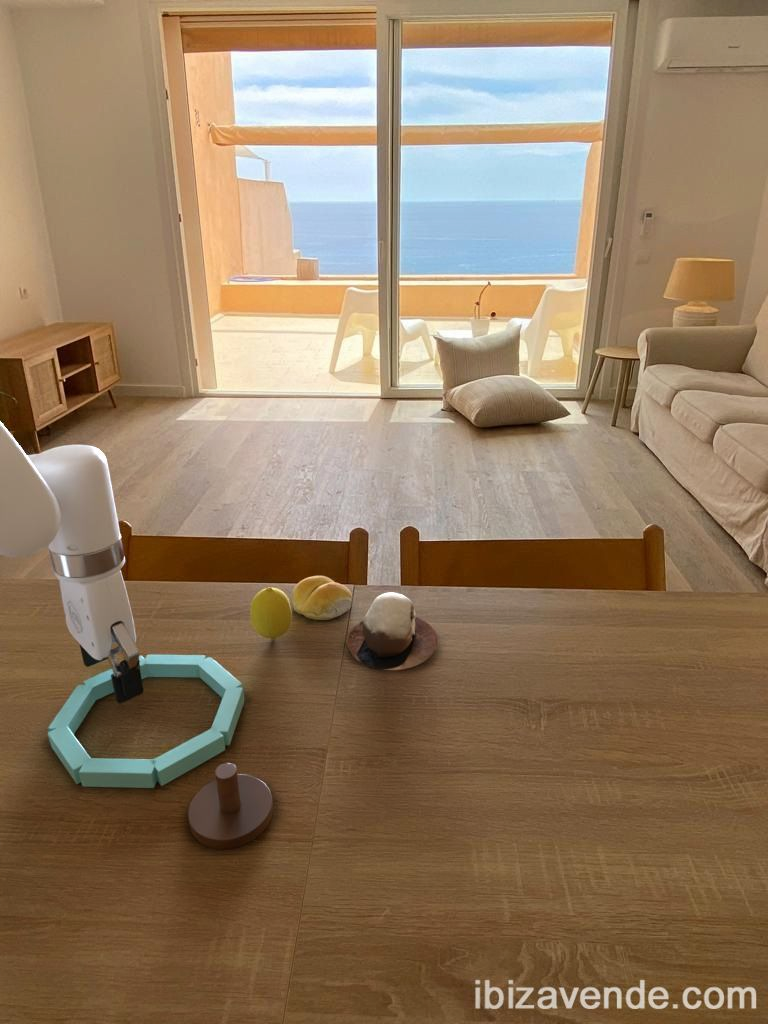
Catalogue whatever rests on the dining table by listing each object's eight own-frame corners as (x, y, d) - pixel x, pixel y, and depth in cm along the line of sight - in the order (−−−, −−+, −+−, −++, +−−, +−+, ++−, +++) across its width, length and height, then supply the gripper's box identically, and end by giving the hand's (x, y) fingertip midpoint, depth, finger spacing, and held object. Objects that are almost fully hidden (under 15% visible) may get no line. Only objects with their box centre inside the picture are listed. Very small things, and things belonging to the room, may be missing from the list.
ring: (101, 820, 67) (97, 805, 66) (31, 718, 81) (27, 704, 80) (273, 722, 79) (272, 709, 79) (188, 648, 93) (186, 636, 92)
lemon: (245, 646, 93) (239, 594, 90) (265, 624, 98) (260, 574, 95) (282, 654, 91) (277, 601, 88) (300, 631, 96) (297, 581, 93)
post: (216, 865, 62) (209, 819, 60) (174, 812, 68) (166, 769, 66) (289, 815, 67) (285, 771, 65) (244, 770, 73) (239, 729, 70)
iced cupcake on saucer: (359, 604, 100) (405, 564, 95) (409, 655, 101) (457, 618, 96) (325, 648, 90) (375, 606, 85) (381, 704, 90) (434, 666, 85)
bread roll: (322, 585, 108) (321, 562, 106) (361, 606, 102) (360, 583, 100) (279, 605, 103) (277, 581, 101) (317, 629, 97) (316, 604, 95)
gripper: (27, 540, 82) (56, 660, 89) (84, 595, 70) (112, 729, 77) (90, 522, 86) (113, 637, 93) (154, 570, 75) (175, 698, 82)
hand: (113, 678), depth 85 cm, fingers open, 9 cm apart
